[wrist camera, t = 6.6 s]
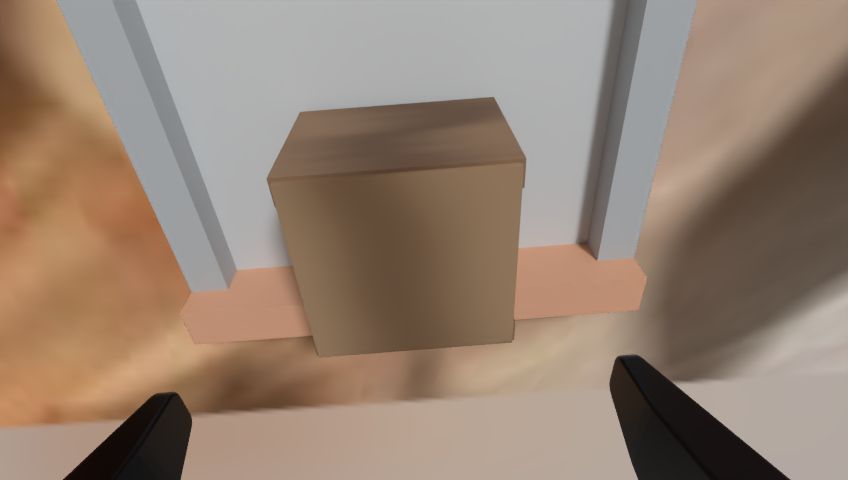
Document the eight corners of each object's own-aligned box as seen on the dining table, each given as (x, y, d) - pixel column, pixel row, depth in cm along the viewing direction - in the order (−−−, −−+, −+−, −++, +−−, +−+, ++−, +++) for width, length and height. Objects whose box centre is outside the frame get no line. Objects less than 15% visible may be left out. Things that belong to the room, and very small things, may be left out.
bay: (749, -405, 10) (865, -512, 7) (609, 262, 20) (638, 310, 18) (-47, -345, 10) (-195, -432, 7) (219, 292, 20) (195, 344, 18)
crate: (492, 94, 15) (528, 162, 11) (489, 249, 19) (515, 344, 14) (301, 109, 15) (264, 182, 11) (334, 261, 18) (316, 360, 14)
